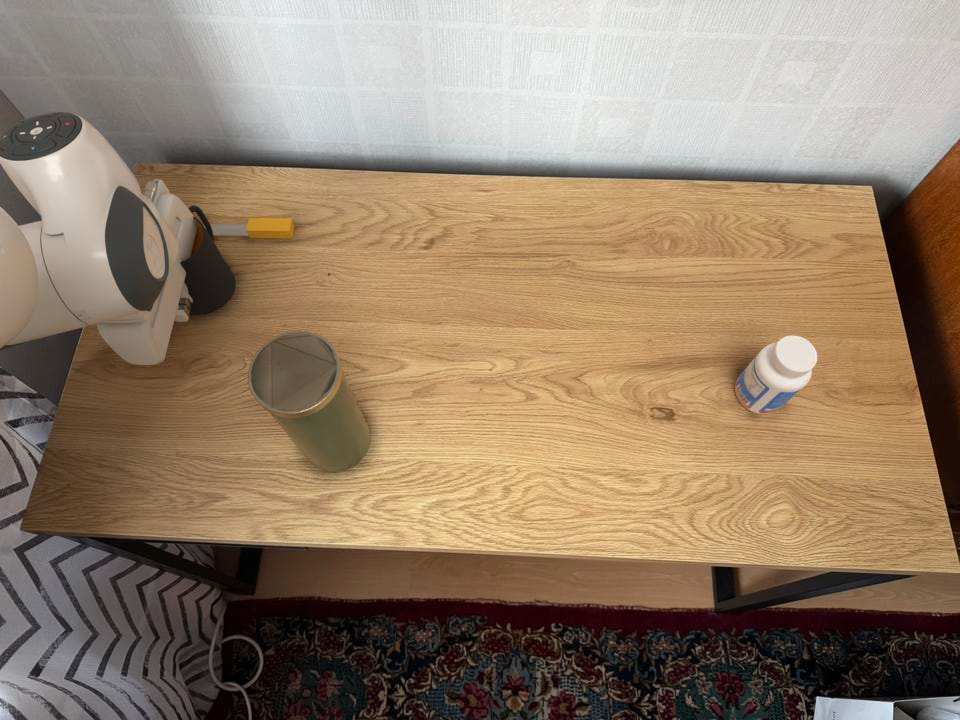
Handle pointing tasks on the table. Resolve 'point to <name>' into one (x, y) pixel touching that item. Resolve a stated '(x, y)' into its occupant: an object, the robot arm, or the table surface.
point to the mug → (207, 270)
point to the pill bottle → (776, 374)
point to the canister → (310, 399)
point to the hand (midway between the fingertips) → (184, 311)
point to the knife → (257, 229)
